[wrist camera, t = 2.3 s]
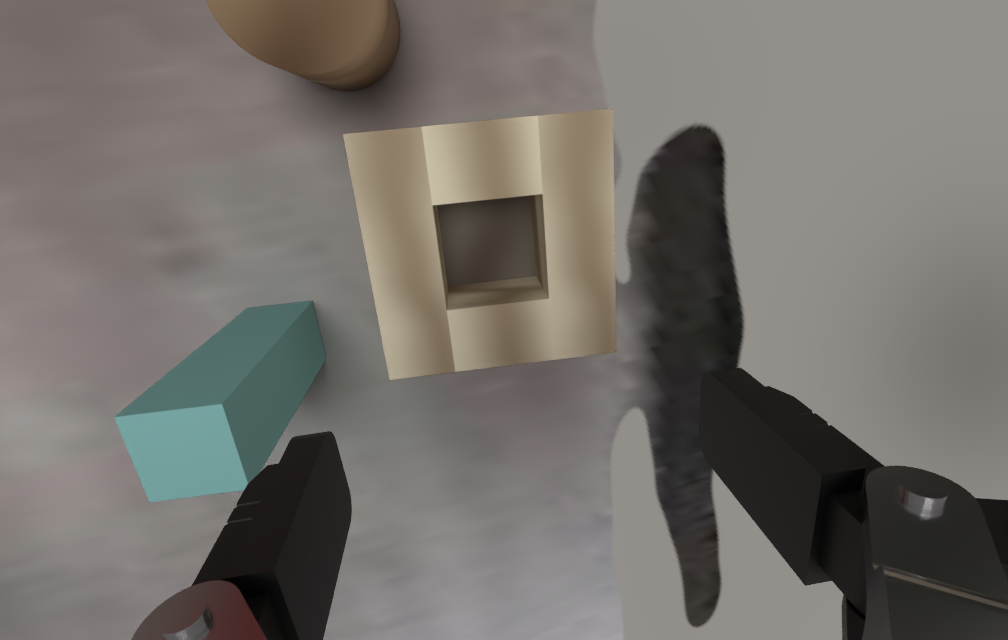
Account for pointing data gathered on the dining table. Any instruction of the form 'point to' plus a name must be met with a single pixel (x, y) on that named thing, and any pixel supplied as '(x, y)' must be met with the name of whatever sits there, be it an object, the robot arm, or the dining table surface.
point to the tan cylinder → (316, 37)
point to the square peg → (224, 404)
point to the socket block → (489, 240)
